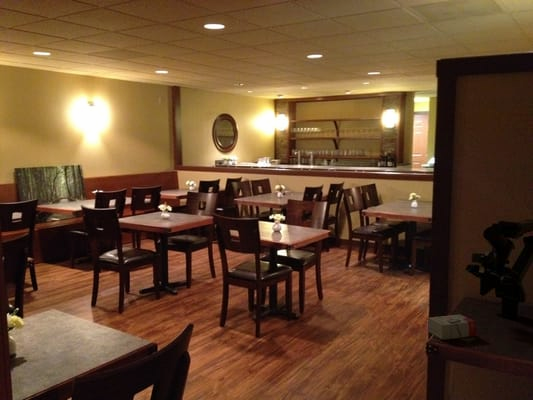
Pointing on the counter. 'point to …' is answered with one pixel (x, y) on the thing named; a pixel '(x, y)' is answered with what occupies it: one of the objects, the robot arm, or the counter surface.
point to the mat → (467, 339)
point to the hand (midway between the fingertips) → (481, 295)
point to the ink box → (451, 326)
